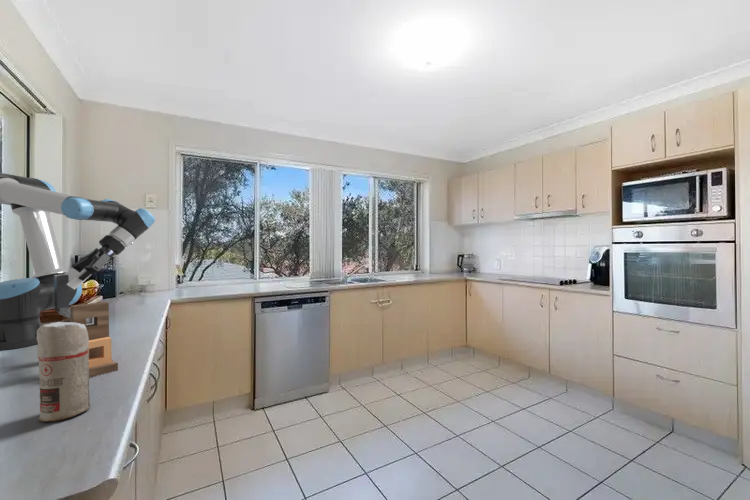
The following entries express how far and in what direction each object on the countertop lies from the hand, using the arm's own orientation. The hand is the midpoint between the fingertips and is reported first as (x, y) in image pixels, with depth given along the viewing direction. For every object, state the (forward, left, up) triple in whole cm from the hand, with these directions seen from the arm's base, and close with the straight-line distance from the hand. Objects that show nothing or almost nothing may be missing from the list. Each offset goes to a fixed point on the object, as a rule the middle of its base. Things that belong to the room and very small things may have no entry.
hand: (64, 285), depth 113 cm
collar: (+31, -1, -20) cm, 37 cm away
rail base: (+21, -1, -22) cm, 30 cm away
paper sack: (+56, -13, -23) cm, 61 cm away
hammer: (+12, -1, -9) cm, 15 cm away
